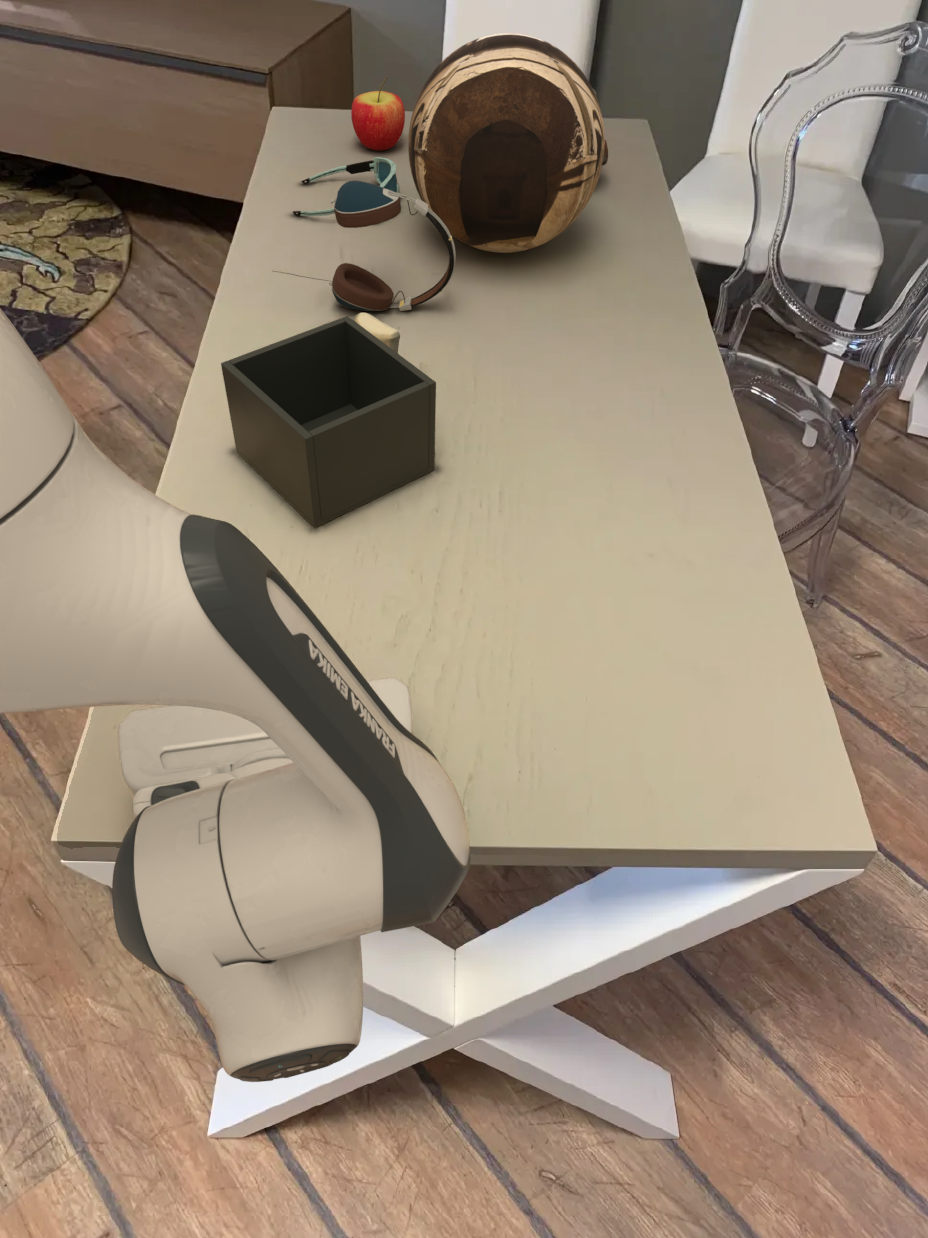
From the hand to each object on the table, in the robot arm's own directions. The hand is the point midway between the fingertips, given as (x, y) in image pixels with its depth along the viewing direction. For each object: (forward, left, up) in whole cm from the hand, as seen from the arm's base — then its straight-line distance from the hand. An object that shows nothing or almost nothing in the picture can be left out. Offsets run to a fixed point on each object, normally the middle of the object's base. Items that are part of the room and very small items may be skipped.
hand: (265, 656), depth 71 cm
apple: (+72, +84, -7) cm, 111 cm away
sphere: (+67, +49, -7) cm, 83 cm away
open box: (+22, +23, -7) cm, 32 cm away
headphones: (+42, +46, -7) cm, 63 cm away
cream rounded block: (+33, +31, -7) cm, 46 cm away
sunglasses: (+57, +71, -7) cm, 91 cm away
